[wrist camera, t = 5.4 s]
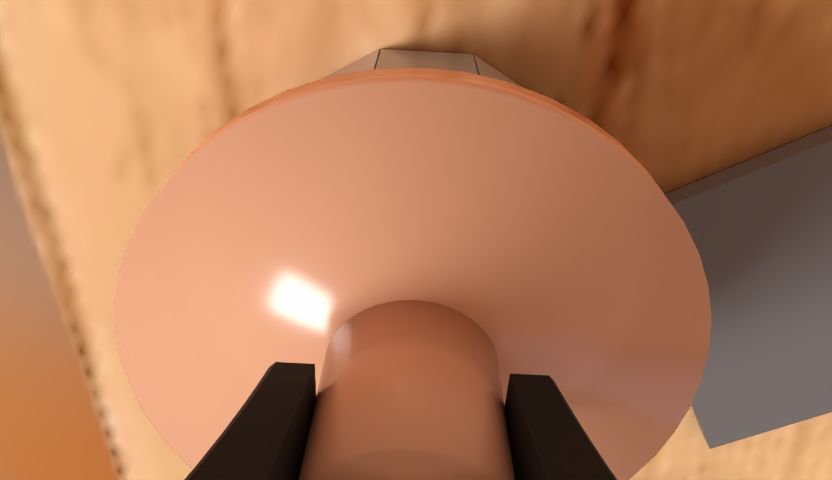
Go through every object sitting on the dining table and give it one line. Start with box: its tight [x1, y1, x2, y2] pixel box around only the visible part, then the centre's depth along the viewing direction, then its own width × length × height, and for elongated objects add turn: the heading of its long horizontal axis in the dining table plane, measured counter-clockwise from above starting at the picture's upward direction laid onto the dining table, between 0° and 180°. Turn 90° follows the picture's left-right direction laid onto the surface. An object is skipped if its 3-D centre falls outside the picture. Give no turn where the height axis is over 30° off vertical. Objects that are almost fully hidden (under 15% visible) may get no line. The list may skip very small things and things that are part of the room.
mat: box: [664, 126, 832, 449], centre depth 17 cm, size 9×9×1 cm
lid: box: [115, 68, 712, 480], centre depth 10 cm, size 10×10×4 cm
